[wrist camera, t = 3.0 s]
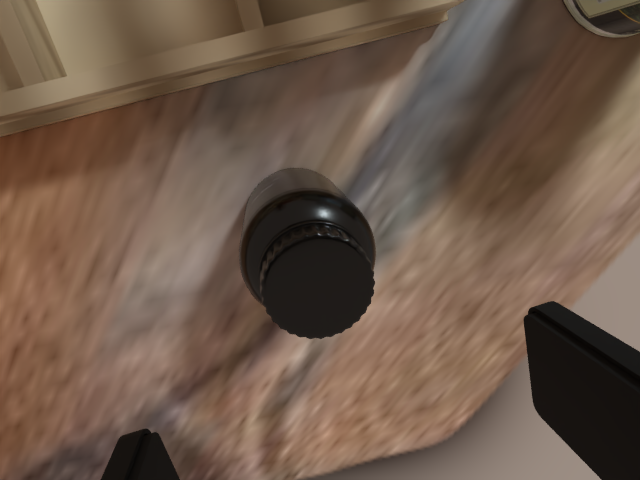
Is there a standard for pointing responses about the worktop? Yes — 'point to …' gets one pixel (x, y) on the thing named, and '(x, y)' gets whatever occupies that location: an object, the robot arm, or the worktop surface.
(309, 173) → the supplement bottle
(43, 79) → the rack
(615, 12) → the coffee can
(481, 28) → the worktop surface
